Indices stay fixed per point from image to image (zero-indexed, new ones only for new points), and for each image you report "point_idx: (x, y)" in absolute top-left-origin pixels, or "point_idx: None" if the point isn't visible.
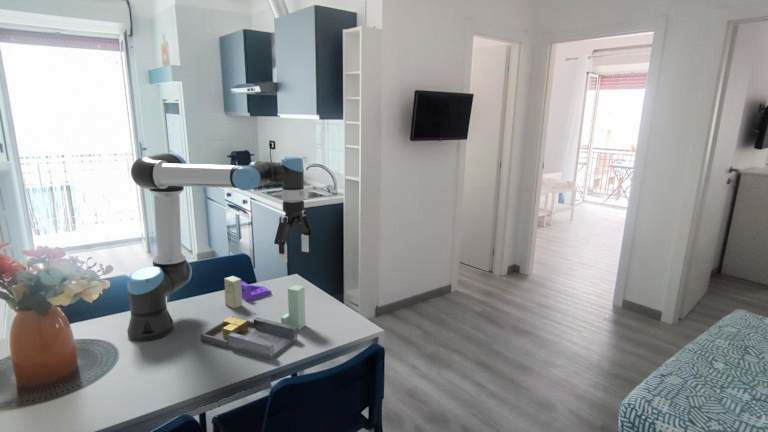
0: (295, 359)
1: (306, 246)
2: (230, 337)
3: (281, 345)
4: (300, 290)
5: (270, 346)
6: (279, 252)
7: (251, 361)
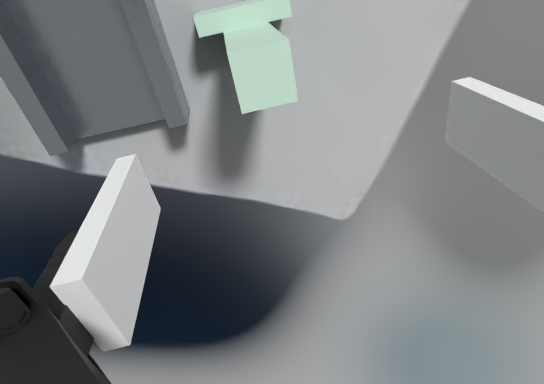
0: None
1: (480, 154)
2: None
3: (119, 120)
4: (264, 106)
5: (52, 154)
6: (64, 247)
7: (14, 100)
